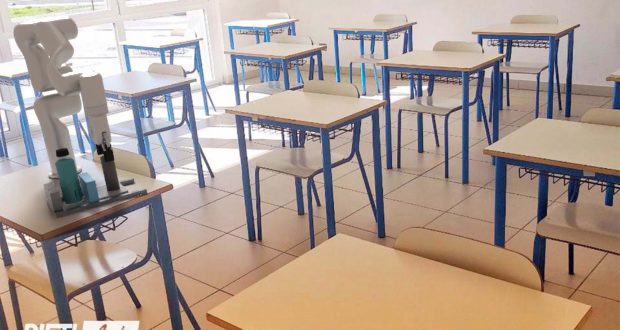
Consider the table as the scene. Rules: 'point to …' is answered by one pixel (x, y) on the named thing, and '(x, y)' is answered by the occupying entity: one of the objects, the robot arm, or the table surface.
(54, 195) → the clamp frame
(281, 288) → the table surface
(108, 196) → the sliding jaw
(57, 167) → the beverage bottle
